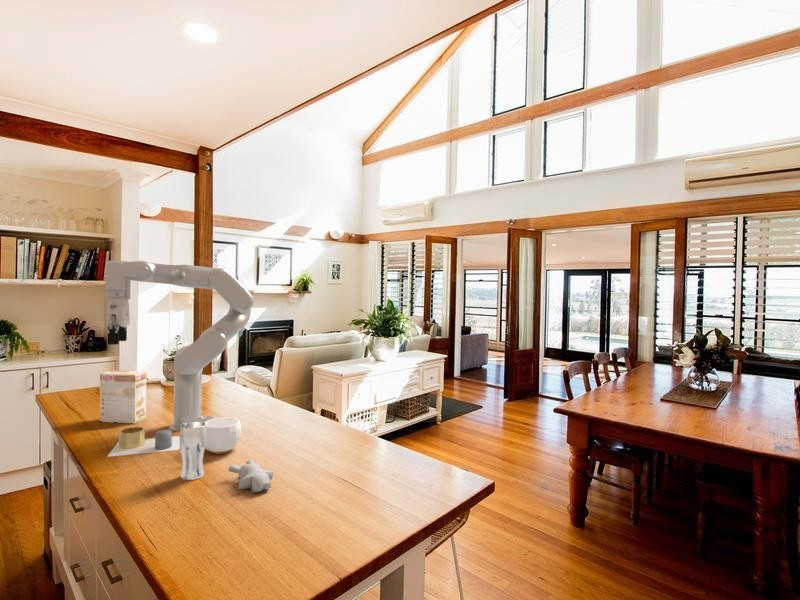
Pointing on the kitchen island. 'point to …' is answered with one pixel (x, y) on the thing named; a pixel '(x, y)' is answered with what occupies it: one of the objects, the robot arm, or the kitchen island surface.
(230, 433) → the cup
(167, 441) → the stand
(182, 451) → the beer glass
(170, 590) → the kitchen island surface
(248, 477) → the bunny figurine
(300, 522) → the kitchen island surface
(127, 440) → the brass ring
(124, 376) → the coffeecake box
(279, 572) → the kitchen island surface
